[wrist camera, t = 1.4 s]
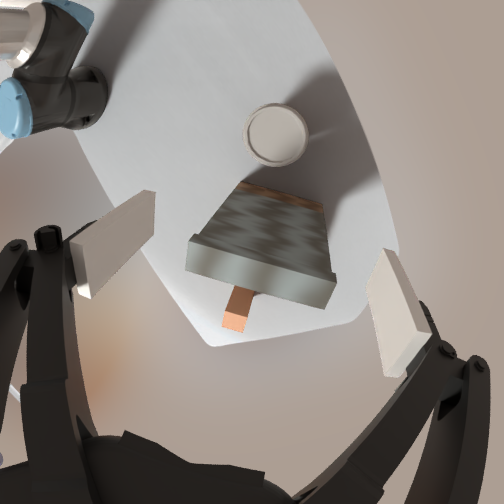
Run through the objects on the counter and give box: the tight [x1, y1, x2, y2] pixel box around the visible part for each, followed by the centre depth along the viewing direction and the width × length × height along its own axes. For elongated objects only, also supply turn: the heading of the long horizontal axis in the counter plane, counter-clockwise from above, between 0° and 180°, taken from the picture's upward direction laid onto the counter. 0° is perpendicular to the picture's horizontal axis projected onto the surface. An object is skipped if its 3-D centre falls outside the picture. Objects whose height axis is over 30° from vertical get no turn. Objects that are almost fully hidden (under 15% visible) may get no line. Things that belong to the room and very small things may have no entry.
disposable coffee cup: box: [243, 103, 309, 167], centre depth 43 cm, size 10×10×12 cm
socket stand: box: [185, 182, 337, 310], centre depth 47 cm, size 17×18×26 cm
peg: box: [222, 285, 255, 333], centre depth 60 cm, size 4×4×12 cm
